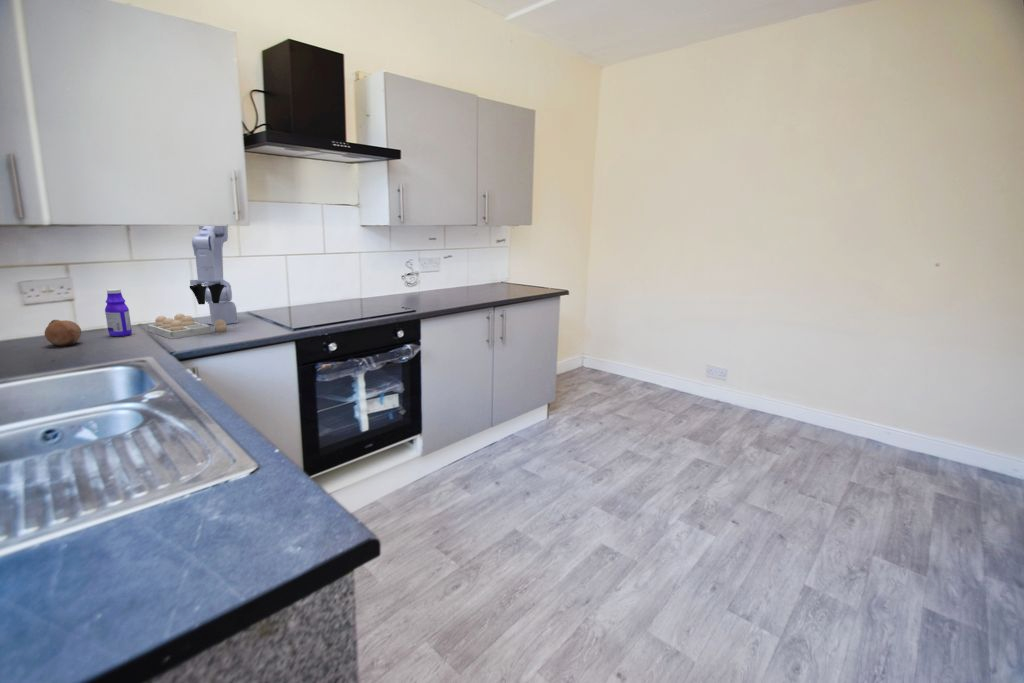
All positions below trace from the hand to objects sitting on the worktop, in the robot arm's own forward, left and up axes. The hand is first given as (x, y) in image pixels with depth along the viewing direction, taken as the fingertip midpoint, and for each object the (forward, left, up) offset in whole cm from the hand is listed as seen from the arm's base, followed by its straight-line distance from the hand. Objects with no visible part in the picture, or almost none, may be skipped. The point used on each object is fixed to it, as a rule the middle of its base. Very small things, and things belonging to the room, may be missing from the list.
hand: (208, 303), depth 193 cm
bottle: (+23, -21, -12) cm, 33 cm away
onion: (+40, -18, -12) cm, 45 cm away
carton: (+7, -11, -12) cm, 17 cm away
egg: (-3, -1, -12) cm, 12 cm away
